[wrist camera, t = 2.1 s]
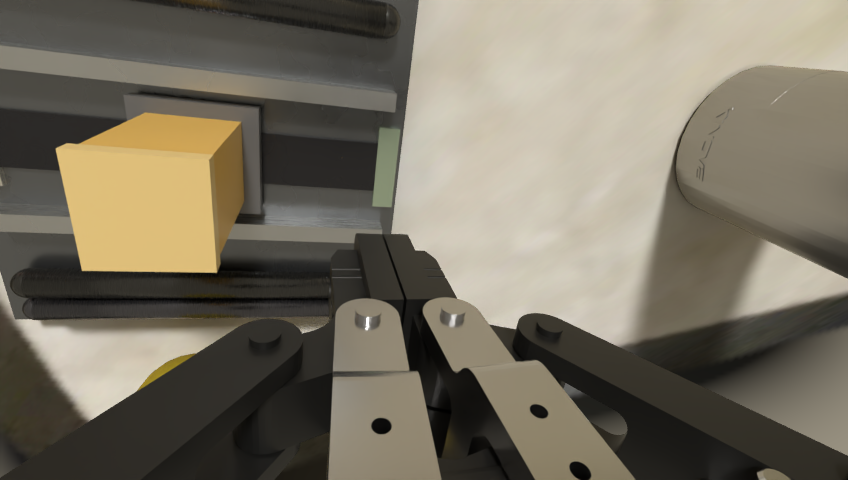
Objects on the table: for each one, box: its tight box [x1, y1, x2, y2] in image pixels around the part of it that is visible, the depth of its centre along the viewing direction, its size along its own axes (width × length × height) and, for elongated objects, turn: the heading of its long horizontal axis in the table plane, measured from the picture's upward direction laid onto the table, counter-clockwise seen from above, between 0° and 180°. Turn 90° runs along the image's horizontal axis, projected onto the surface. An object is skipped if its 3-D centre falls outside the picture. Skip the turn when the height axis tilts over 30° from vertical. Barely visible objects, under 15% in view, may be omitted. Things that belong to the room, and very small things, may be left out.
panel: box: [0, 0, 419, 320], centre depth 19 cm, size 18×18×3 cm
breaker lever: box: [56, 92, 263, 273], centre depth 16 cm, size 5×5×7 cm
